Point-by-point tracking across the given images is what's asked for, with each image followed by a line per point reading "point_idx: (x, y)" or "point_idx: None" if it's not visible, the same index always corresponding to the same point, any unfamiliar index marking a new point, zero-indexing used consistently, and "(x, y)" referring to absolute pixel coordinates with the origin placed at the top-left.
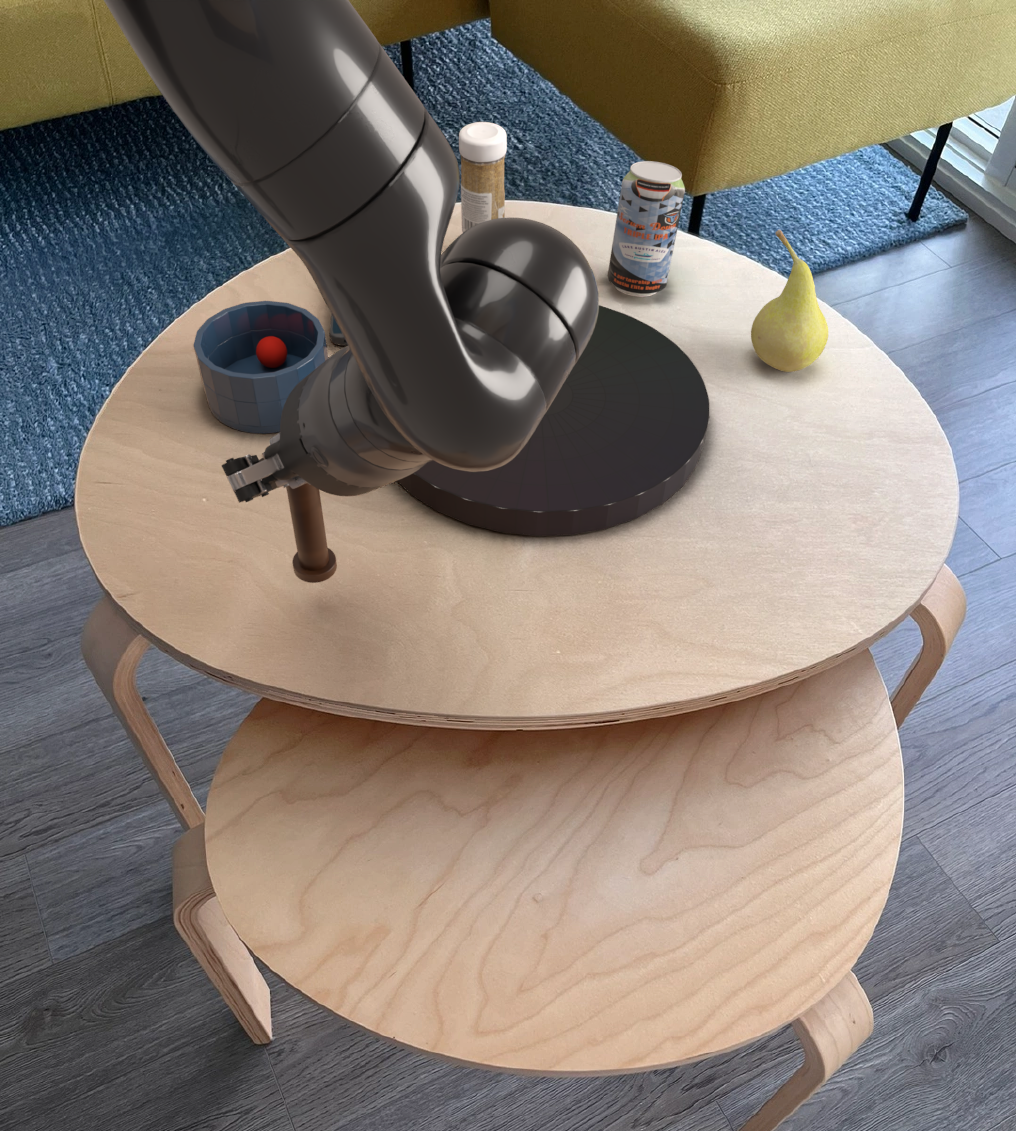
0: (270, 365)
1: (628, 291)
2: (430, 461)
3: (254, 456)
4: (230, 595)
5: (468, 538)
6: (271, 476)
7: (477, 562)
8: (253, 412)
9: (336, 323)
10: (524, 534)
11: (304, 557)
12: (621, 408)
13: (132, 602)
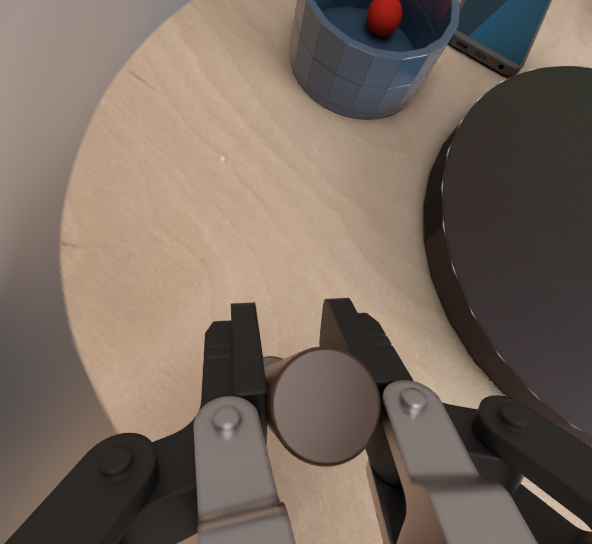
0: (374, 31)
1: None
2: (482, 269)
3: (116, 526)
4: (174, 311)
5: (464, 377)
6: (173, 538)
7: None
8: (326, 82)
9: (460, 17)
10: None
11: None
12: None
13: (66, 258)
